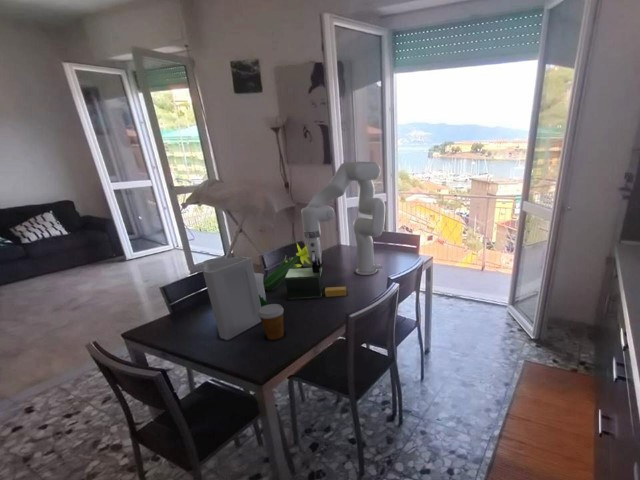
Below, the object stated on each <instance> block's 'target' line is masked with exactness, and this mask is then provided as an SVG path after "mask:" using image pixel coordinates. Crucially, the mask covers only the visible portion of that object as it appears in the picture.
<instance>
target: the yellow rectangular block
mask: <svg viewBox="0 0 640 480" xmlns="http://www.w3.org/2000/svg"><path fill="white" fill-rule="evenodd" d="M324 294H325V297H326V298H329V297H343V296H344V297H346V296H347V286H331V287H330V286H328V287H325V289H324Z"/></svg>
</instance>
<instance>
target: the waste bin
mask: <svg viewBox="0 0 640 480" xmlns="http://www.w3.org/2000/svg"><path fill="white" fill-rule="evenodd" d="M284 281H285V287H286V292H287V293H286V294H287V299H288V301H294V300H309V299H313V300H314V299H322V296H323V290H324V284H323V283H324V282H323V275H322V273H321V276H320V277H316V278H298V279H285V280H284Z"/></svg>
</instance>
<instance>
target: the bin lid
mask: <svg viewBox="0 0 640 480" xmlns="http://www.w3.org/2000/svg"><path fill="white" fill-rule="evenodd" d="M319 270H320V272H319V273H313V270H312V267H303V268H302V267H300V268H297V269H289V271H288V273H287V275H286V277H285V279H298V278H316V277H320V276H321V274H322V272H323V266H321V268H320V269H319Z"/></svg>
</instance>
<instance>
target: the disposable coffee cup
mask: <svg viewBox="0 0 640 480" xmlns="http://www.w3.org/2000/svg"><path fill="white" fill-rule="evenodd" d="M284 310H285V309H284V307H283V306H282V305H281V304H278V303H270V304H268V305H265V306H263V307H261V308H260V309H259V312H258V315H259V317H260V319H261V324H262V327H263V329H264V332H265V335H266V338H267V339H268V340H273V341H274V340H279V339H281V338H283V337H284Z"/></svg>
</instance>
